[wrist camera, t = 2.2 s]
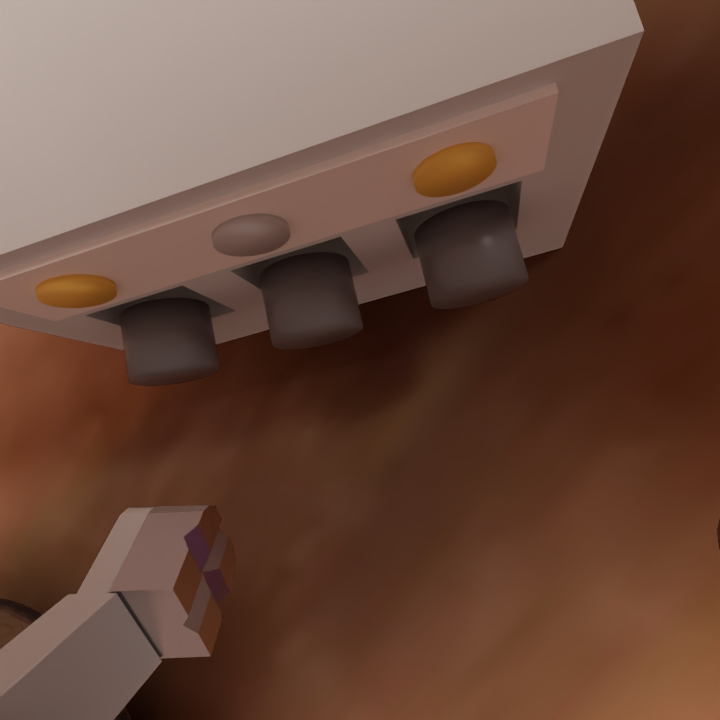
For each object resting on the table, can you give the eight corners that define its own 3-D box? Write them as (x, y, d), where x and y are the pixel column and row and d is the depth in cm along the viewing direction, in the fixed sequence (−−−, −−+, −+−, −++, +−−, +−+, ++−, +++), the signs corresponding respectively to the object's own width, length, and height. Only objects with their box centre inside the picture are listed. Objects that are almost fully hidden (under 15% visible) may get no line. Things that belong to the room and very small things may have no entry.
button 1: (525, 291, 24) (532, 263, 20) (436, 315, 24) (425, 293, 20) (508, 227, 24) (510, 189, 20) (420, 253, 25) (407, 220, 21)
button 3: (234, 369, 26) (190, 358, 22) (162, 388, 27) (108, 381, 23) (224, 310, 27) (179, 290, 23) (154, 331, 28) (99, 315, 24)
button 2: (372, 332, 25) (350, 314, 21) (291, 353, 26) (256, 340, 22) (358, 271, 25) (334, 243, 22) (280, 294, 26) (243, 271, 22)
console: (565, 258, 28) (652, 51, 13) (164, 368, 33) (-120, 314, 18) (513, 82, 30) (533, -280, 15) (140, 210, 35) (-135, 38, 20)
